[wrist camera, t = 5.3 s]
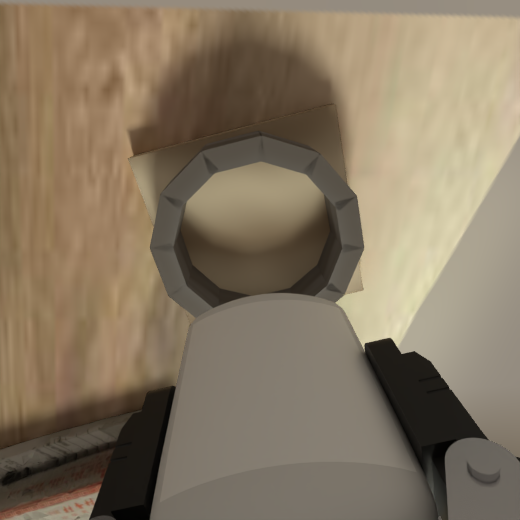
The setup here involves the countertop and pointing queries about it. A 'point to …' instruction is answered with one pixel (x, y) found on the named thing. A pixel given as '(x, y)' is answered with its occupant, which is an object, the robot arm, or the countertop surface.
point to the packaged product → (58, 472)
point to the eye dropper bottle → (284, 422)
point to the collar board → (254, 213)
